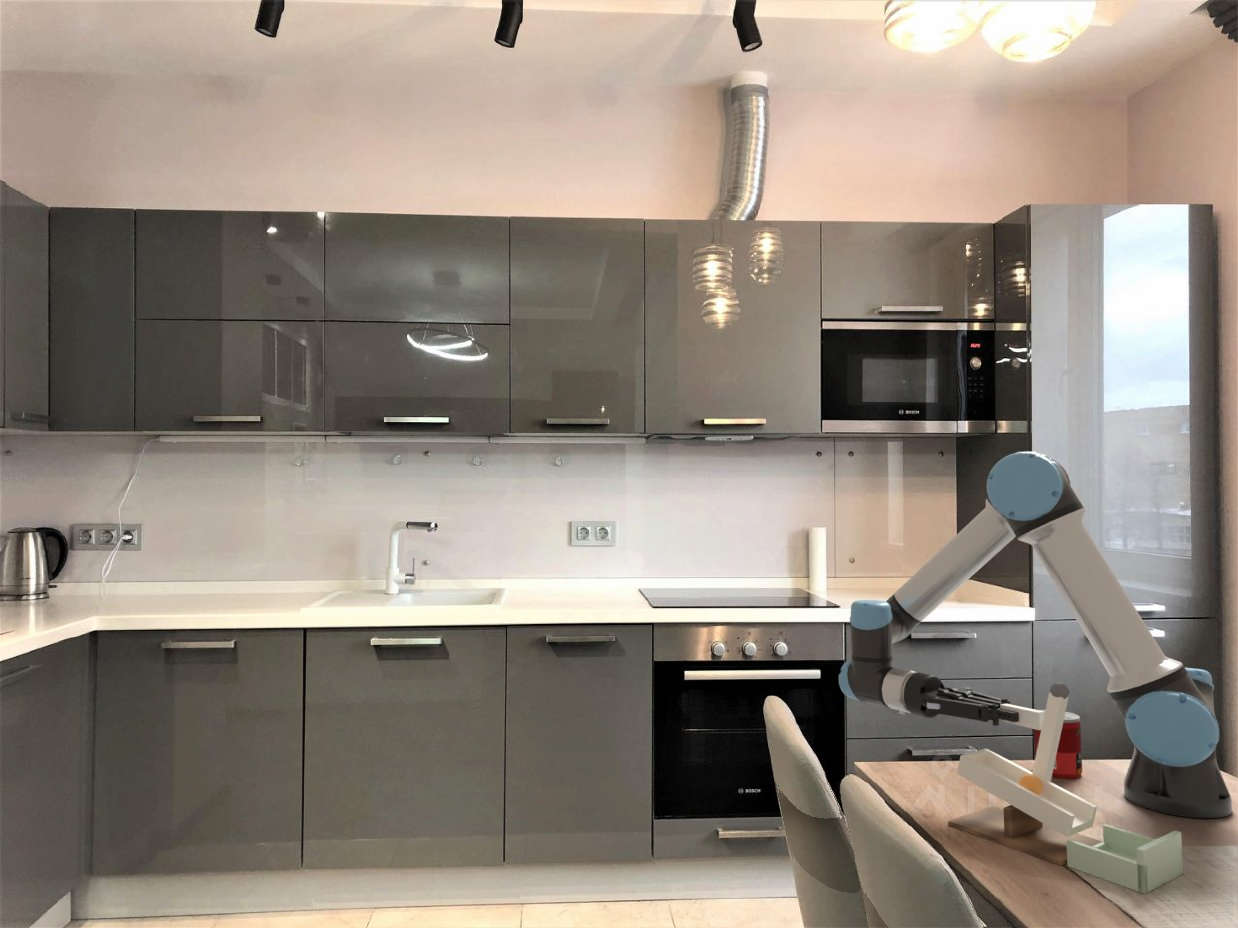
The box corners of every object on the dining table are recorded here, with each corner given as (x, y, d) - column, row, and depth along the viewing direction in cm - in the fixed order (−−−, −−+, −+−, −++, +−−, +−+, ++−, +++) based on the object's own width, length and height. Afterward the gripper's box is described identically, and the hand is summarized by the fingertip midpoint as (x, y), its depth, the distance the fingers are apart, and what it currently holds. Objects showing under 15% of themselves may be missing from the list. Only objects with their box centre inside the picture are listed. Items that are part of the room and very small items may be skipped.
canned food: (1088, 780, 149) (1086, 720, 150) (1042, 777, 151) (1039, 718, 151) (1074, 767, 157) (1072, 710, 157) (1029, 765, 158) (1027, 708, 159)
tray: (1067, 865, 113) (1065, 825, 114) (1106, 848, 119) (1105, 810, 119) (1145, 893, 105) (1143, 850, 105) (1183, 873, 111) (1181, 832, 111)
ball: (1049, 784, 123) (1029, 781, 126) (1038, 770, 122) (1018, 768, 125) (1043, 802, 122) (1023, 799, 124) (1032, 788, 121) (1012, 785, 123)
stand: (948, 824, 128) (947, 793, 129) (992, 809, 135) (991, 780, 135) (1061, 865, 113) (1060, 830, 114) (1105, 846, 120) (1103, 813, 120)
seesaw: (957, 773, 130) (978, 665, 128) (990, 763, 135) (1011, 659, 133) (1067, 836, 115) (1093, 716, 113) (1100, 822, 120) (1126, 707, 118)
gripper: (938, 708, 150) (1065, 738, 130) (891, 718, 143) (1018, 751, 123) (936, 668, 150) (1063, 691, 130) (890, 675, 143) (1017, 701, 123)
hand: (1041, 720), depth 127 cm, fingers closed
